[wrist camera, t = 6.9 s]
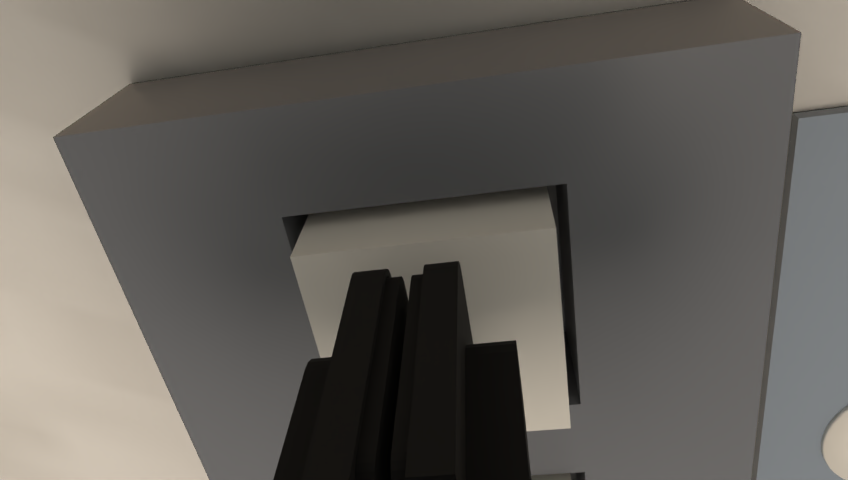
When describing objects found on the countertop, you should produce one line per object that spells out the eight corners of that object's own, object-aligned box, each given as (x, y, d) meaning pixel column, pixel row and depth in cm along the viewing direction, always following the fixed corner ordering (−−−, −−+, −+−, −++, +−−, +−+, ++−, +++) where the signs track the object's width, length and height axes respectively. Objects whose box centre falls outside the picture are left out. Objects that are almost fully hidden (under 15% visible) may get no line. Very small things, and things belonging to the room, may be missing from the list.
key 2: (323, 180, 14) (290, 257, 11) (539, 154, 13) (555, 228, 11) (366, 347, 16) (346, 444, 13) (553, 330, 15) (571, 428, 13)
